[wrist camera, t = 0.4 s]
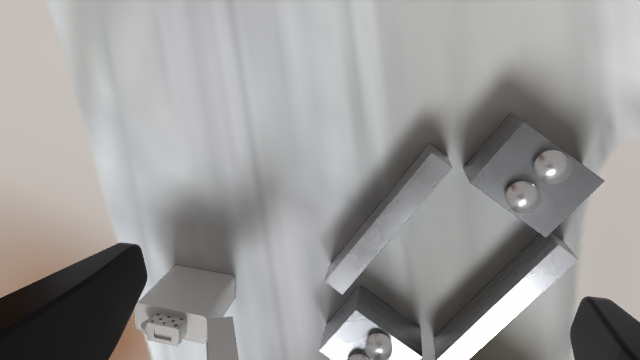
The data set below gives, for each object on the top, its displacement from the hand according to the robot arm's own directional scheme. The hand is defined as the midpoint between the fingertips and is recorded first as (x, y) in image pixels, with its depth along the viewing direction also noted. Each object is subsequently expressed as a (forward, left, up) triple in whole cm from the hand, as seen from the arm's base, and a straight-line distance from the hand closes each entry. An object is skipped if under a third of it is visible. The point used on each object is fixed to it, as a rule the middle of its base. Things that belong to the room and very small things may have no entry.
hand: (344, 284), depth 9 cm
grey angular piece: (-13, +2, -15) cm, 20 cm away
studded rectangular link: (-3, -7, -15) cm, 16 cm away
